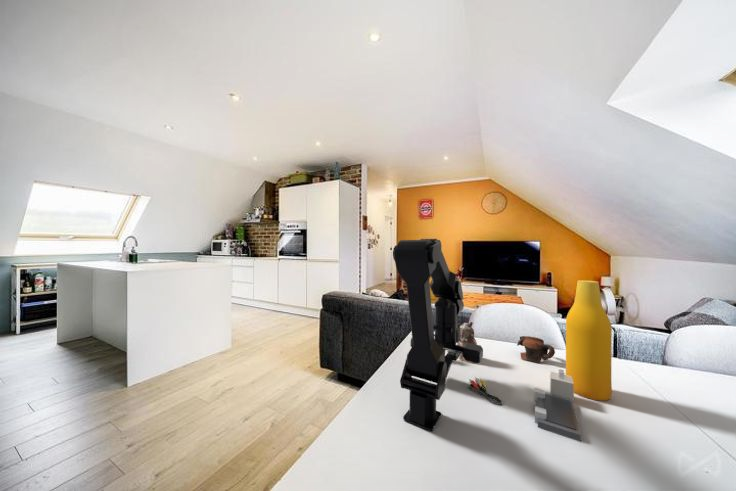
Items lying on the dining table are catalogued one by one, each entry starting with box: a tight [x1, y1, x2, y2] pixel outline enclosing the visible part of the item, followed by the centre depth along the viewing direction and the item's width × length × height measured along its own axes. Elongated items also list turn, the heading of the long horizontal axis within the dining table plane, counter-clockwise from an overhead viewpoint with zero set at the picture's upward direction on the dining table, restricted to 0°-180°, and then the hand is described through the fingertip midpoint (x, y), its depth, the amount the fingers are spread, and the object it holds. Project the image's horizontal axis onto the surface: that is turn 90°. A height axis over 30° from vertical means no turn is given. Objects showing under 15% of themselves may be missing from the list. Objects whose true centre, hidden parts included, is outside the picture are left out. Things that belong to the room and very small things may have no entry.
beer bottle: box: [565, 279, 613, 402], centre depth 67 cm, size 9×9×29 cm
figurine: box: [456, 321, 478, 364], centre depth 87 cm, size 7×7×12 cm
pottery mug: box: [516, 335, 556, 364], centre depth 87 cm, size 12×10×8 cm
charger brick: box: [549, 368, 575, 405], centre depth 64 cm, size 4×4×7 cm
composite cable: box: [467, 376, 503, 406], centre depth 65 cm, size 10×5×2 cm, turn 9°
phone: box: [534, 387, 582, 442], centre depth 57 cm, size 14×8×2 cm, turn 147°
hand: (444, 377), depth 71 cm, fingers closed
